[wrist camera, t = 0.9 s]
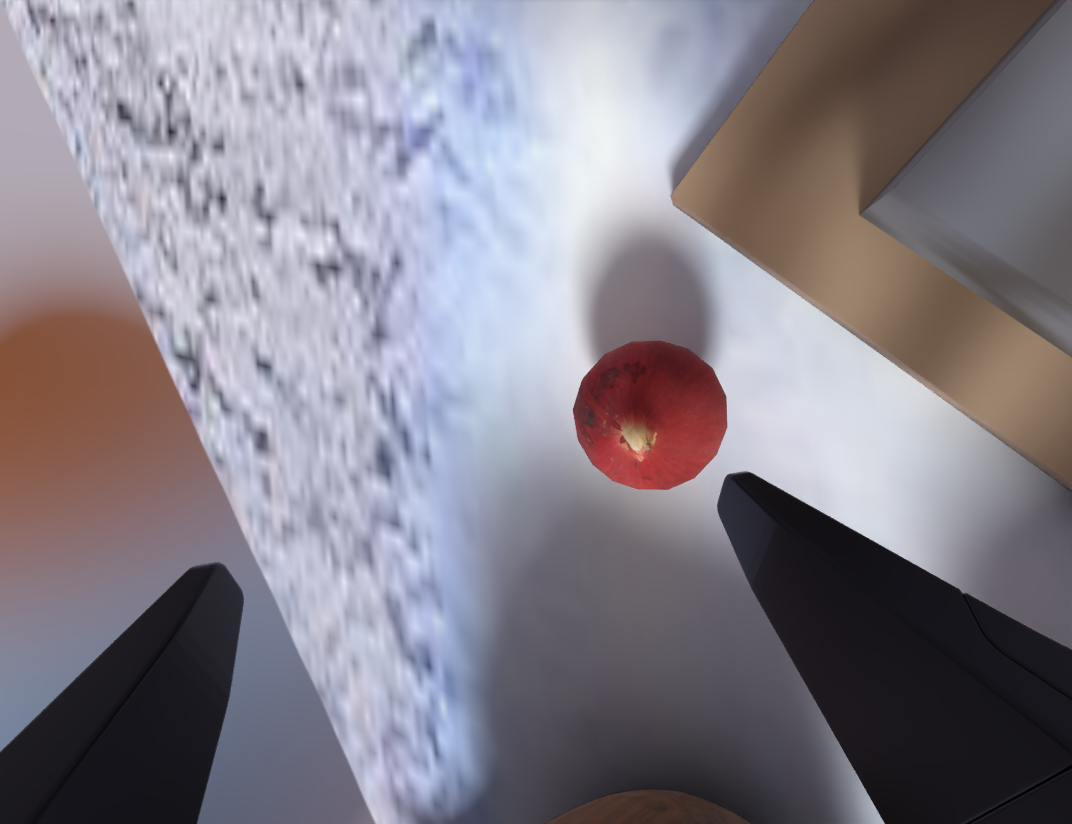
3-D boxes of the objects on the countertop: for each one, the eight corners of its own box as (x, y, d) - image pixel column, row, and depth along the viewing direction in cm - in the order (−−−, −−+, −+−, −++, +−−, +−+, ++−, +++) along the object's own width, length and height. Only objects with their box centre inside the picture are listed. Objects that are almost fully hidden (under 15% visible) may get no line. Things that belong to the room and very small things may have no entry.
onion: (583, 435, 23) (523, 487, 16) (616, 323, 22) (567, 323, 14) (699, 477, 22) (691, 556, 14) (744, 359, 20) (762, 380, 13)
